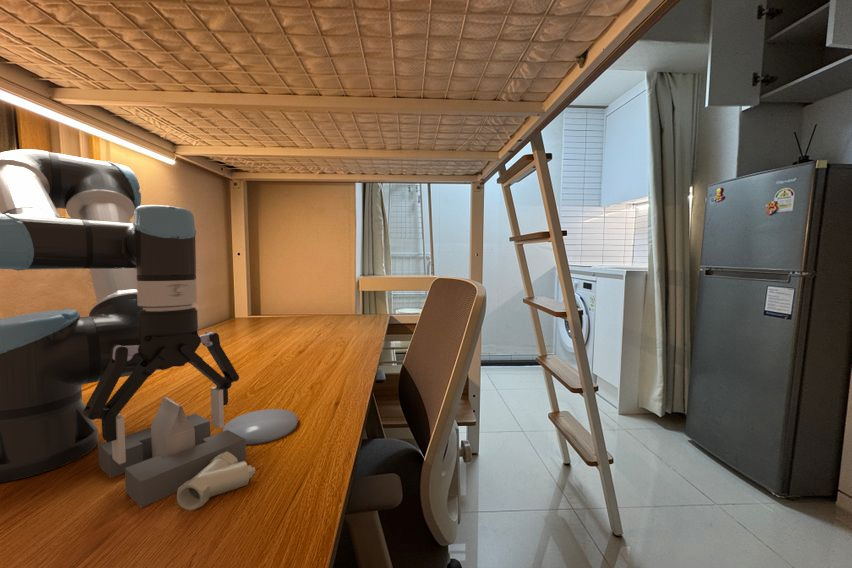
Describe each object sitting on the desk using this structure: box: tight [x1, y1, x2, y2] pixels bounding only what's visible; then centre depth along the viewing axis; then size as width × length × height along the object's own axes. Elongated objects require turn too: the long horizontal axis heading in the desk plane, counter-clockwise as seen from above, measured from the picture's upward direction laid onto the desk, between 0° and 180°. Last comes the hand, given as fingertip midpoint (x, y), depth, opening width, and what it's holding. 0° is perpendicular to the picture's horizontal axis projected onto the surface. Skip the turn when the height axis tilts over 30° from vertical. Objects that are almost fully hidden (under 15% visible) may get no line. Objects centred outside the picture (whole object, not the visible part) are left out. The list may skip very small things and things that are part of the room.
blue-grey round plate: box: [222, 408, 298, 446], centre depth 70 cm, size 13×13×1 cm
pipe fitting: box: [176, 452, 256, 511], centre depth 51 cm, size 8×4×7 cm
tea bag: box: [150, 396, 195, 458], centre depth 57 cm, size 4×7×10 cm, turn 54°
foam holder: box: [97, 413, 247, 509], centre depth 58 cm, size 17×14×4 cm
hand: (173, 441), depth 57 cm, fingers open, 13 cm apart
